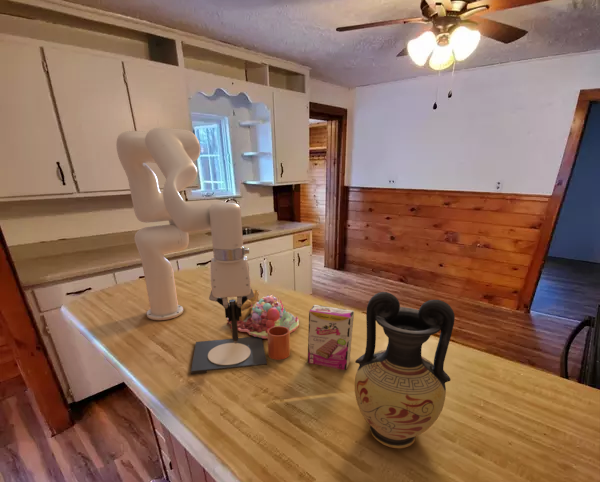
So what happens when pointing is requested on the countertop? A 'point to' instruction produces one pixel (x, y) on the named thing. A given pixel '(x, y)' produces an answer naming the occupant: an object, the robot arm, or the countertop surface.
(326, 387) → the countertop surface
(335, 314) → the candy bar box
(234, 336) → the marker pen
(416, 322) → the amphora
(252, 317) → the candy landscape model
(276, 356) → the pen pot
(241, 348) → the board
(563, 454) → the countertop surface
